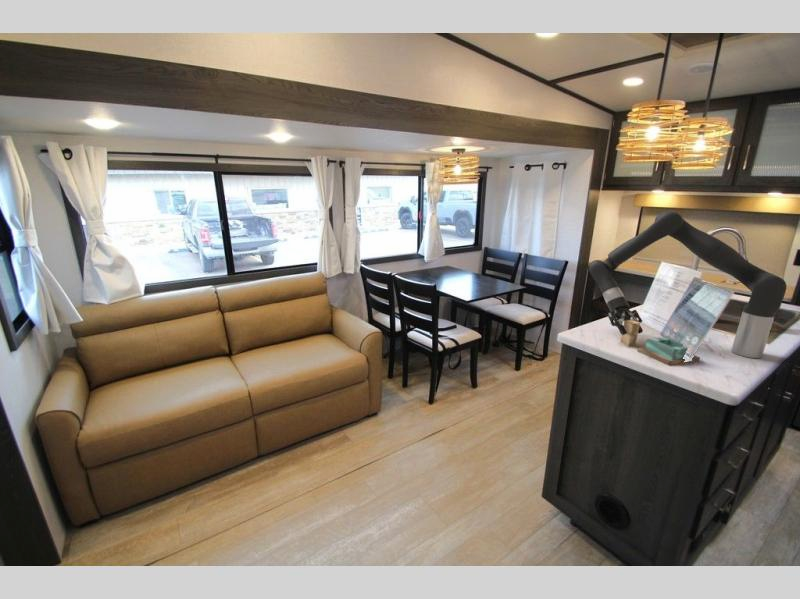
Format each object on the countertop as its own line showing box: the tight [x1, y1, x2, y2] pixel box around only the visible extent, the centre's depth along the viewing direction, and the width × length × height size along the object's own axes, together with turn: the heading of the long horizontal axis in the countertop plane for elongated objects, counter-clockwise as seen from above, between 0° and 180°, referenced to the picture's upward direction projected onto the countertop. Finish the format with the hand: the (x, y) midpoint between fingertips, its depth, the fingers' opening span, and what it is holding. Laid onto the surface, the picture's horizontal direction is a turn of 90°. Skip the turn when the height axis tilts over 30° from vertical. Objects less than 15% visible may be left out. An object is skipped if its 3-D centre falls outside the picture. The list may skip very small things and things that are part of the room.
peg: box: [619, 320, 641, 347], centre depth 156 cm, size 4×4×10 cm
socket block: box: [637, 336, 701, 366], centre depth 145 cm, size 16×13×6 cm
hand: (632, 333), depth 155 cm, fingers open, 8 cm apart
